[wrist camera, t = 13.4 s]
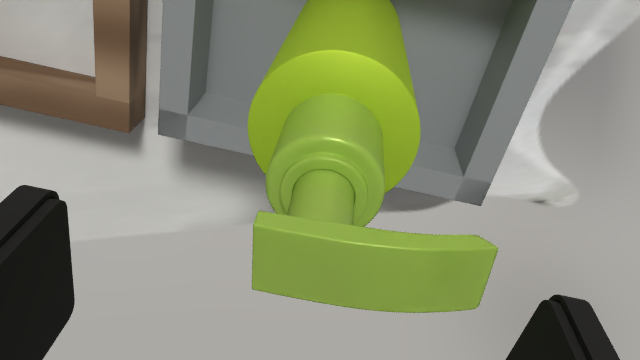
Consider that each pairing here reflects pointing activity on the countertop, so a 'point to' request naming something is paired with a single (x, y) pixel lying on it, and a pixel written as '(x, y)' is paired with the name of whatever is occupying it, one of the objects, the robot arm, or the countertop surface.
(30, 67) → the walnut holder
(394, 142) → the soap dispenser
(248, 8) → the slate tray
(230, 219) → the countertop surface
